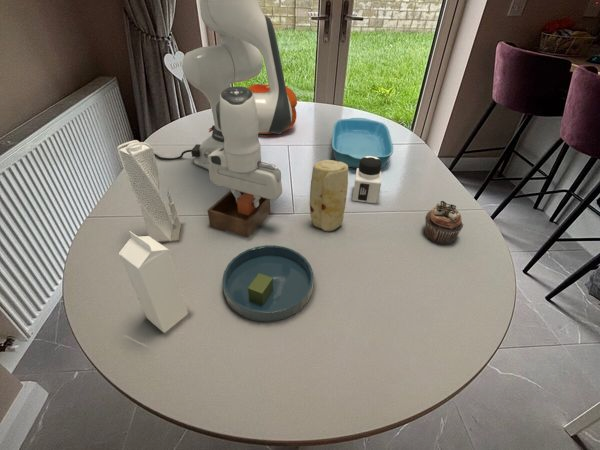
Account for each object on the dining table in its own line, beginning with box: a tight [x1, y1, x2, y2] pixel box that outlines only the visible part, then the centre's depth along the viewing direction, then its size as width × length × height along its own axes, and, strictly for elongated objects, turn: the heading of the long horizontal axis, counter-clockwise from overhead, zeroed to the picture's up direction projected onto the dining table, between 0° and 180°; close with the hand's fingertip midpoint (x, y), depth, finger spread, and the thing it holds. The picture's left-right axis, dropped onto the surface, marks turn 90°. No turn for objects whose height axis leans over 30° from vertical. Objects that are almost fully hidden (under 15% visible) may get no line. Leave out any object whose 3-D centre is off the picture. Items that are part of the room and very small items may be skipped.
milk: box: [118, 230, 189, 334], centre depth 63 cm, size 6×6×22 cm
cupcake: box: [424, 200, 464, 245], centre depth 89 cm, size 10×10×10 cm
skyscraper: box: [116, 139, 182, 244], centre depth 81 cm, size 8×8×28 cm
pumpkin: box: [247, 83, 298, 135], centre depth 141 cm, size 23×23×20 cm
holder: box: [207, 189, 272, 238], centre depth 94 cm, size 13×13×6 cm
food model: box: [309, 159, 349, 232], centre depth 88 cm, size 10×7×20 cm
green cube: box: [248, 273, 273, 305], centre depth 73 cm, size 4×5×4 cm
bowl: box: [221, 244, 315, 323], centre depth 76 cm, size 20×20×4 cm
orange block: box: [237, 193, 256, 216], centre depth 91 cm, size 4×5×4 cm
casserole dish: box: [331, 117, 394, 169], centre depth 129 cm, size 37×22×7 cm, turn 174°
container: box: [351, 156, 383, 204], centre depth 103 cm, size 8×8×13 cm
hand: (247, 203), depth 91 cm, fingers closed on orange block, 3 cm apart
